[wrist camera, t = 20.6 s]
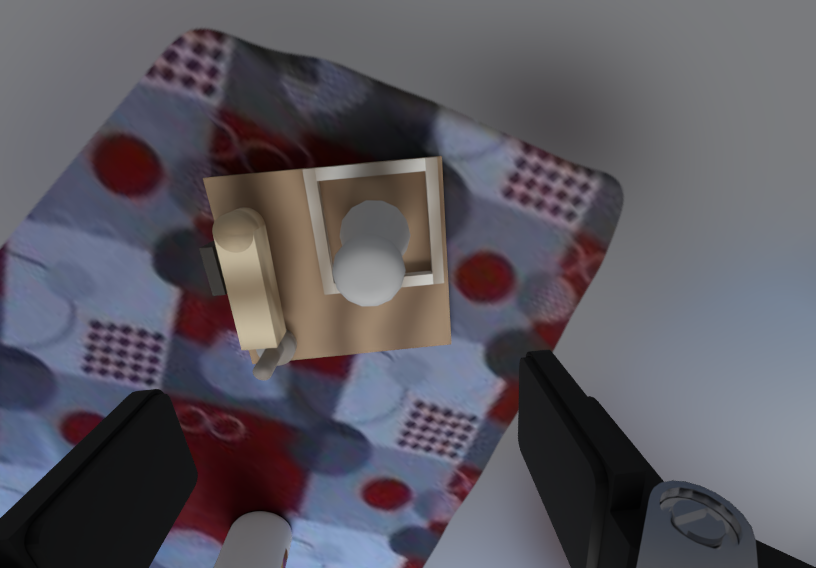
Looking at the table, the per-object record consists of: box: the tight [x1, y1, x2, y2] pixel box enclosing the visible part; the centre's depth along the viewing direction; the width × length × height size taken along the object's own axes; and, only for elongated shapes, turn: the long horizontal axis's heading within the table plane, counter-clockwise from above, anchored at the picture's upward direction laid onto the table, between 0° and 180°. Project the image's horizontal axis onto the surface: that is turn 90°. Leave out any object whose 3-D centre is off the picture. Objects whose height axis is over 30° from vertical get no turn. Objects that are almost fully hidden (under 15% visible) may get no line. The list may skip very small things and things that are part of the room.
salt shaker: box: [332, 200, 411, 306], centre depth 27 cm, size 6×6×13 cm
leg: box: [213, 208, 286, 350], centre depth 31 cm, size 12×3×3 cm, turn 3°
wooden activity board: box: [199, 156, 451, 380], centre depth 33 cm, size 20×18×6 cm
